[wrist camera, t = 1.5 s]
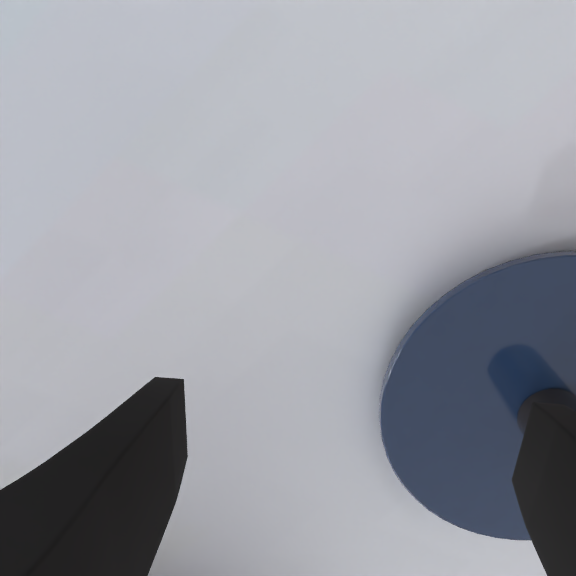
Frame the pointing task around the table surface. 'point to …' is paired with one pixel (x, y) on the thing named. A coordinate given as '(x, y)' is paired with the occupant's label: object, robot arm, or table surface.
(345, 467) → the table surface
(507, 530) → the lid
